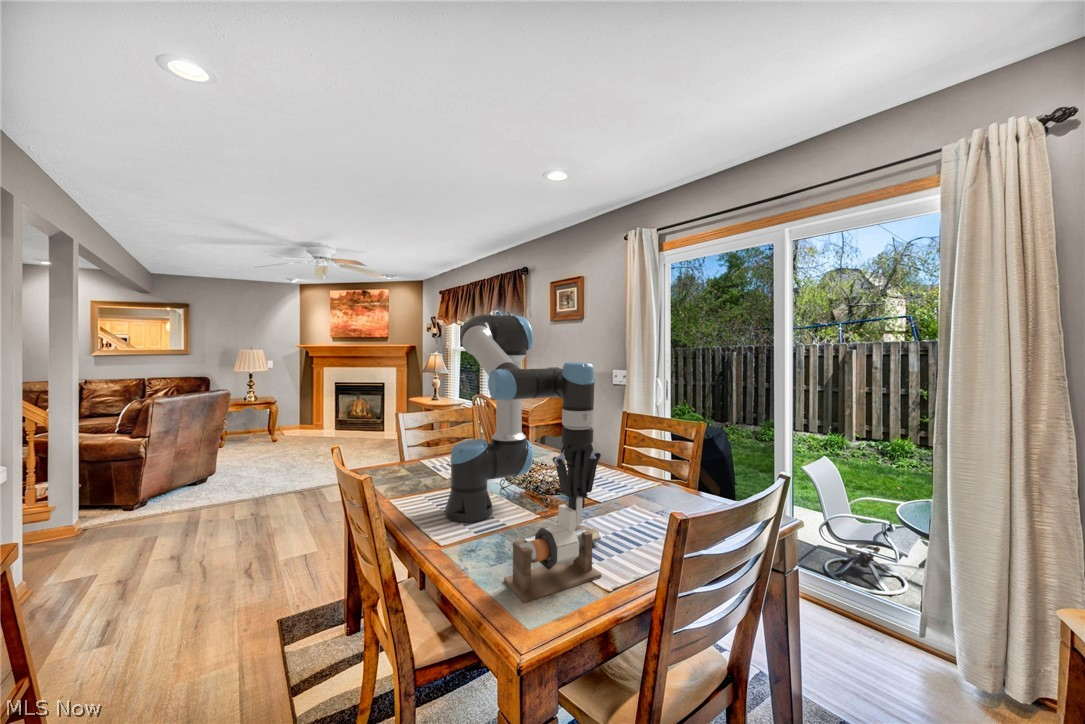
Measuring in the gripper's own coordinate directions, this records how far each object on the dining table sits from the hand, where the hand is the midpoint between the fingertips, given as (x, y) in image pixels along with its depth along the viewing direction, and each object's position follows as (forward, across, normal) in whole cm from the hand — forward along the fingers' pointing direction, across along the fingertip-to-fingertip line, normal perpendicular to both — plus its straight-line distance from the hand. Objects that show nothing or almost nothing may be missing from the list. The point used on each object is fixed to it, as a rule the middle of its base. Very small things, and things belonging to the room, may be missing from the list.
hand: (576, 522), depth 107 cm
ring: (+9, -9, 0) cm, 12 cm away
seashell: (+13, +11, +13) cm, 21 cm away
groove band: (+7, -11, 0) cm, 13 cm away
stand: (+12, -6, 0) cm, 14 cm away
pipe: (+7, -6, 0) cm, 9 cm away
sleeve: (+8, -5, 0) cm, 10 cm away
